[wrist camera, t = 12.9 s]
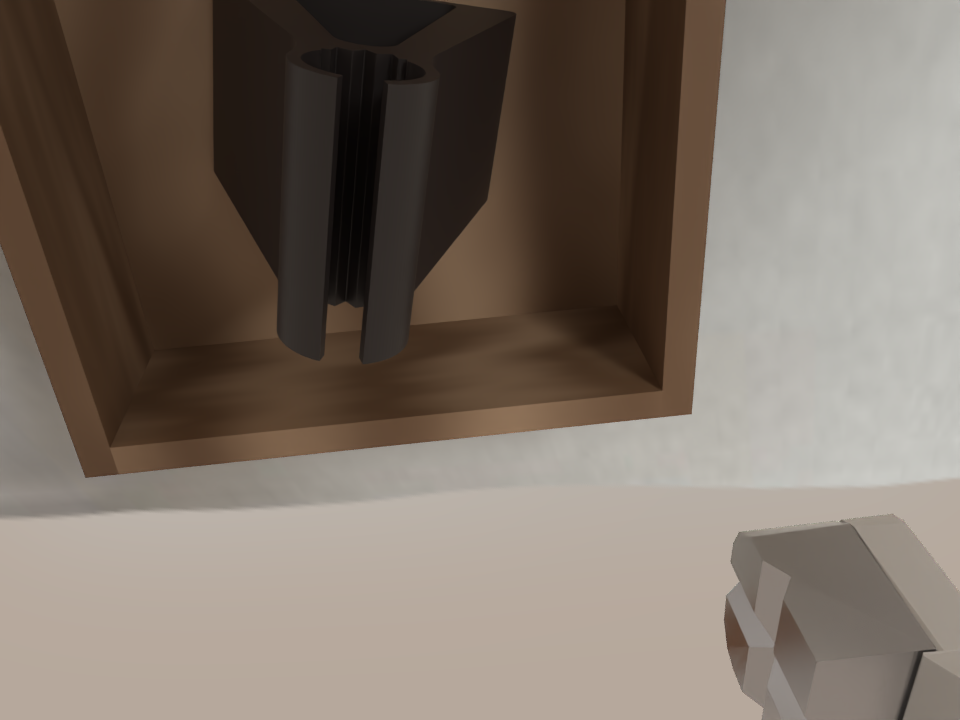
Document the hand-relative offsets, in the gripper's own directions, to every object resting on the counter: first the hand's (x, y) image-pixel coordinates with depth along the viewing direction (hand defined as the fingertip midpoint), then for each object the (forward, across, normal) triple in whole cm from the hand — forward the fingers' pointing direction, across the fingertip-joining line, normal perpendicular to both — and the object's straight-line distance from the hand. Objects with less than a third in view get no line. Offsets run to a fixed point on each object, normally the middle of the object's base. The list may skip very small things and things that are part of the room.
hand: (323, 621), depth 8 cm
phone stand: (+22, 0, 0) cm, 22 cm away
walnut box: (+23, 0, 0) cm, 23 cm away
